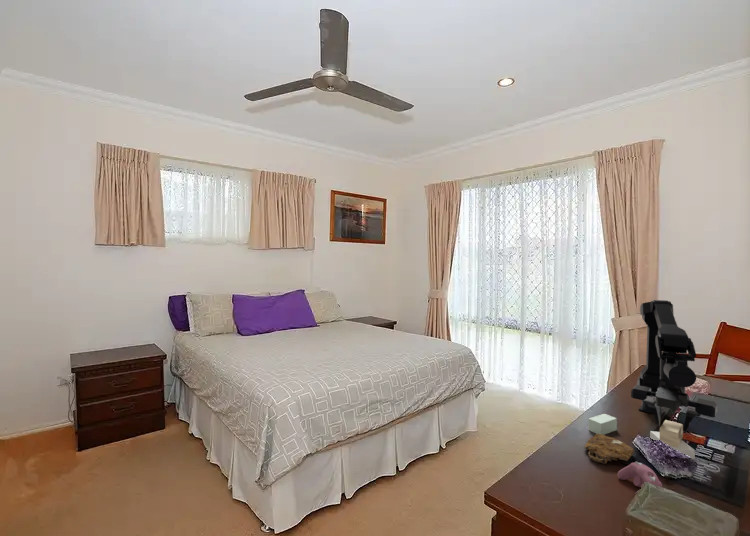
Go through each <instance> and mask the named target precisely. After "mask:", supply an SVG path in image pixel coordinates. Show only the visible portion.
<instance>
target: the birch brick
mask: <svg viewBox="0 0 750 536" xmlns="http://www.w3.org/2000/svg"><path fill="white" fill-rule="evenodd" d="M659 432H660V440H661V441H663V442H664V443H666V444H668V445H672V446H675V447H678V446H679V444H680V442H681V440H682V441H683V439H684V424H682V423H679V422H675V421H673V420H672V421H671V420H667V419H665V420H664V421H663V423H662V424H661V425H660V426H659Z"/></svg>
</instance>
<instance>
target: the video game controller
mask: <svg viewBox="0 0 750 536" xmlns="http://www.w3.org/2000/svg"><path fill="white" fill-rule="evenodd" d="M616 474H617V478H618V479H619V480H622V481H624V480H631V479H633V485H634V486H636V487H637V488H639V487H640V486H641V485H642V484H643V483H644V482H649V483H652V484H654V485H657V486H660V487H662V488H663V484H662V482H661V481H660V480H659V477H658V476H657V474H656V473H655V471H654V470H653V469H652V468H650V467H649V466H647V465H646V464H644V463H642V462H638V461H635V462H631V463H630V464H628V465H627V466H625V467H623V468H621V469H620V470H618V472H617V473H616ZM644 484H645V483H644ZM638 491H639V490H637V491H636V492H635V494H636V493H637V492H638Z"/></svg>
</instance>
